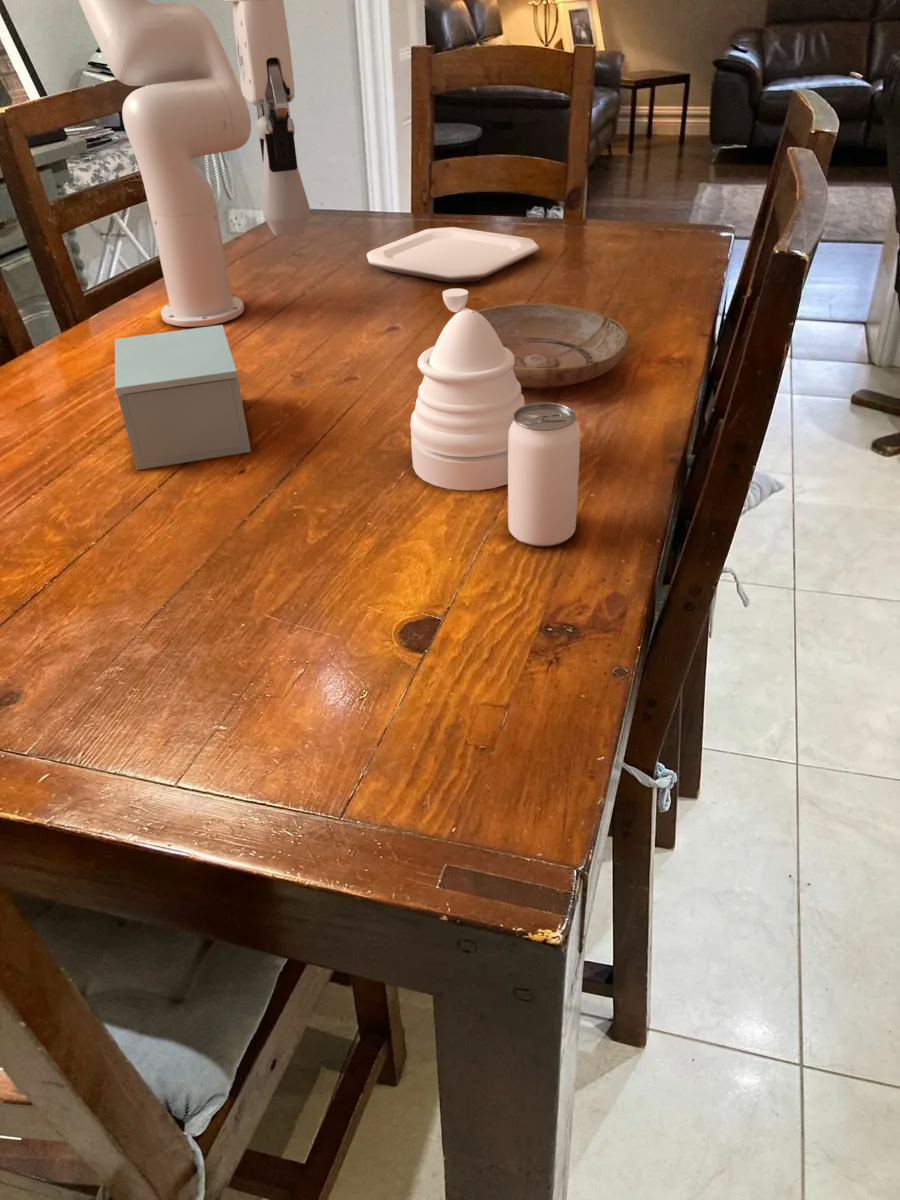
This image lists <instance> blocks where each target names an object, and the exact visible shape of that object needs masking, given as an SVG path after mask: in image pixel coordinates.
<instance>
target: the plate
mask: <svg viewBox="0 0 900 1200" xmlns="http://www.w3.org/2000/svg"><path fill="white" fill-rule="evenodd" d="M539 250H540V246H539V245H538V243H536V242H535V241H534V239H532V238H530V237H525V236H524V237H523V236H517V235H510V234H503V233H496V232H489V231H483V230H476V229H470V228H462V227H456V226H449V227H447V226H446V227H437V228H435V227H434V228H427V229H423V230H420V231H418V232H416V233H412V234H411V235H408V236H405V237H402V238H400V239H398V240H395V241H392V242H390V243H387V244H384V245H382V246H379V247H377V248H374V249H372V250H370V251H368V252H367V253H366V258H367V261H368V264H369V265H372V266H374V267H377V268H380V269H383V270H385V271H388V272H391V273H397V274H401V275H407V276H413V277H417V278H423V279H429V280H435V281H439V282H445V283H450V284H452V283H453V284H455V283H468V282H477V281H480V280H482V279H485V278H487V277H488V276H490V275H493V274H494V273H497V272H498V271H501V270H503V269H505V268H507V267H509V266H511V265H513V264H516V263H518V262H520V261H522V260H523V259H525V258H527V257H529V256H530V255H533V254H534V253H536V252H538V251H539Z"/></svg>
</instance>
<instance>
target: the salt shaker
mask: <svg viewBox="0 0 900 1200" xmlns="http://www.w3.org/2000/svg"><path fill="white" fill-rule="evenodd" d="M291 125H292V131H293V134H294V135H295V132H296V131H295V124H294V120H293V118H291ZM256 130H257V131H256V132H257V135H258V138H259V137H260V138H261V139H264V162H263V167H262V168H263V170H262V171H263V172H262V173H263V175H262V177H263V179H262V181H263V182H262V215H263V218H264V220H265V222H266V224H267V225H268V227H269V230H270V231H271V233H272V234H273V235H275V236H276V237H294V236H299V235H303V234H305V232H306V229H307V226H308V224H309V220H310V217H311V212H312V211H311V206H310V204H309V201H308V197H307V194H306V189H305V187H304V184H303V179H302V177H301V173H300V170H299V166H298V165H297V169H296V170H290V171H280V172H272V171H271V170H270V168H269V160H268V153H267V146H266V139H265V134H268V133H267V128H266V122H265V116H263V117H261V118H259V120H258V119H257V121H256ZM260 138H259V139H260Z"/></svg>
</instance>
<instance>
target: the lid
mask: <svg viewBox="0 0 900 1200" xmlns="http://www.w3.org/2000/svg"><path fill="white" fill-rule="evenodd" d="M232 378H238V379H239V375H238V370H237V367H236V364H235V359H234V356H233V353H232V351H231V347H230V343H229V341H228V338H227V334H226V331H225V328H224V325H223V324H216V325H209V326H201V327H193V328H187V329H181V330H179V329H178V330H172V331H166V332H157V333H152V334H151V333H149V334H141V335H133V336H127V337H120V338H115V339H114V389H115V394H116V396H118V395H121V394H128V393H135V392H142V391H149V390H156V389H162V388H169V387H176V386H183V385H190V384H197V383H204V382H211V381H218V380H225V379H232Z"/></svg>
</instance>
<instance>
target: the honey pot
mask: <svg viewBox="0 0 900 1200" xmlns="http://www.w3.org/2000/svg"><path fill="white" fill-rule="evenodd" d="M468 299H469V291H468V290H467V289H465V288H448V289H445V290H443V291H442V300H443V303H444V305H445V306H446V308H447V310H449V311H450V312H452V313H454V315H453V316H452V317H451V318H450V319H449V320H448V322H447V323H446V324H445V326H444V327H443V329H442V331H441V333H440V334H439V336H438V338H437V340H436V342H435V345H434V346H431V347H429V348H428V349H426V350H424V351H423V352H422V353H421V354H420V355H419V357H418V358H417V363H416V364H417V368H418V369H419V372H420V373H421V374H422V375H423V378H422V382H421V384H419V386H418V391H417V398H416V400H415V406H414V410H413V411H412V413H411V415H410V416H411V417H410V425H409V426H410V436H411V437H410V444H411V459H412V468H413V470H414V473H415V474H416V475H417V476H418V477H419V478H420V479H421V480H423V482H427V483H428V484H431V485H432V486H436V487H440V488H443V489H447V490H454V491H484V490H489V489H497V488H498V487H502V486H505V485H508V435H509V429H510V426H511V424H512V422H513V420H514V419H513V414H514V412H515V411H516V410H517V409H519V408H520V407H522V406H525V405H526V402H525V397H524V395H523V394H522V387H521V385H520V383H519V382H518V381H517V379H516V376H515V374H514V371H513V366H514V365H515V357H514V355H513V353H512V352H511V351H510V350H509V349H507V348H505V347H504V346H503V345H502V343H501V341H500V339H499V337H498V335H497V334H496V332H495V330H494V329H493V327H492V326H491V325H490V323H489V322H488V321H487V320H486V319H485V318H484V317H483V316H482V315H481V314H480V313H478V312H476V311H477V310H475V309H470V308H468V307H466V305H467V302H468Z"/></svg>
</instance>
